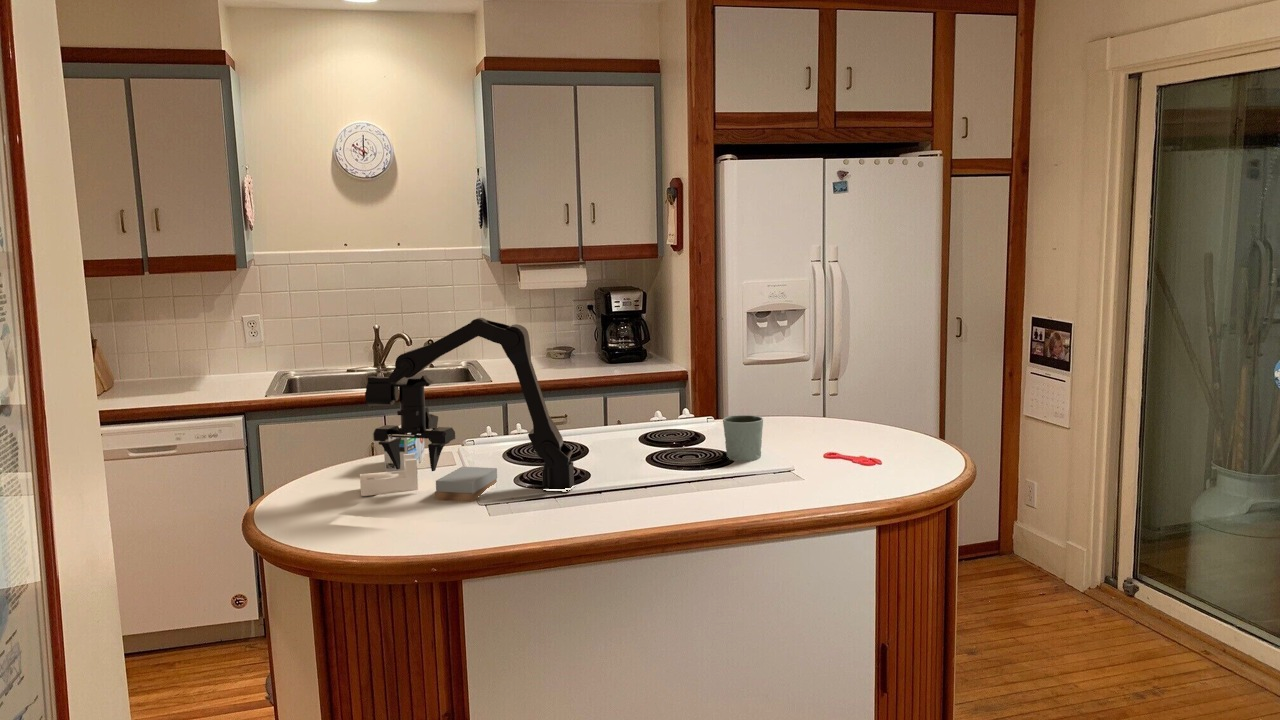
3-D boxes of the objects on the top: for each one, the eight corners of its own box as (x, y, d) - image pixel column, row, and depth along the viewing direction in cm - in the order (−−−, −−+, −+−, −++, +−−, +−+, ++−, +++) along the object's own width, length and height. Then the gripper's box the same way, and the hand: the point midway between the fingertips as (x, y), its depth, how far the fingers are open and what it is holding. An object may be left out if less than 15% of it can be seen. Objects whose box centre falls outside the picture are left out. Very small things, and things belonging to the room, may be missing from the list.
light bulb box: (408, 475, 246) (406, 433, 244) (384, 474, 247) (381, 432, 246) (426, 465, 256) (424, 424, 255) (402, 464, 257) (400, 424, 256)
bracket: (416, 483, 238) (414, 453, 237) (418, 490, 231) (416, 459, 230) (360, 488, 234) (358, 457, 233) (361, 496, 227) (359, 464, 226)
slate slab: (497, 478, 233) (496, 468, 232) (472, 493, 219) (472, 482, 219) (462, 476, 235) (461, 466, 235) (436, 491, 222) (435, 480, 221)
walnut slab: (497, 488, 233) (496, 478, 232) (471, 504, 219) (471, 494, 219) (462, 486, 235) (462, 476, 235) (435, 502, 222) (434, 491, 222)
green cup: (769, 462, 251) (769, 416, 249) (752, 471, 242) (752, 423, 241) (734, 458, 256) (734, 413, 255) (716, 466, 248) (715, 420, 246)
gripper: (464, 400, 233) (467, 463, 235) (394, 398, 238) (398, 460, 240) (442, 408, 223) (445, 475, 225) (370, 406, 228) (373, 471, 230)
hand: (415, 470), depth 230 cm, fingers open, 9 cm apart
